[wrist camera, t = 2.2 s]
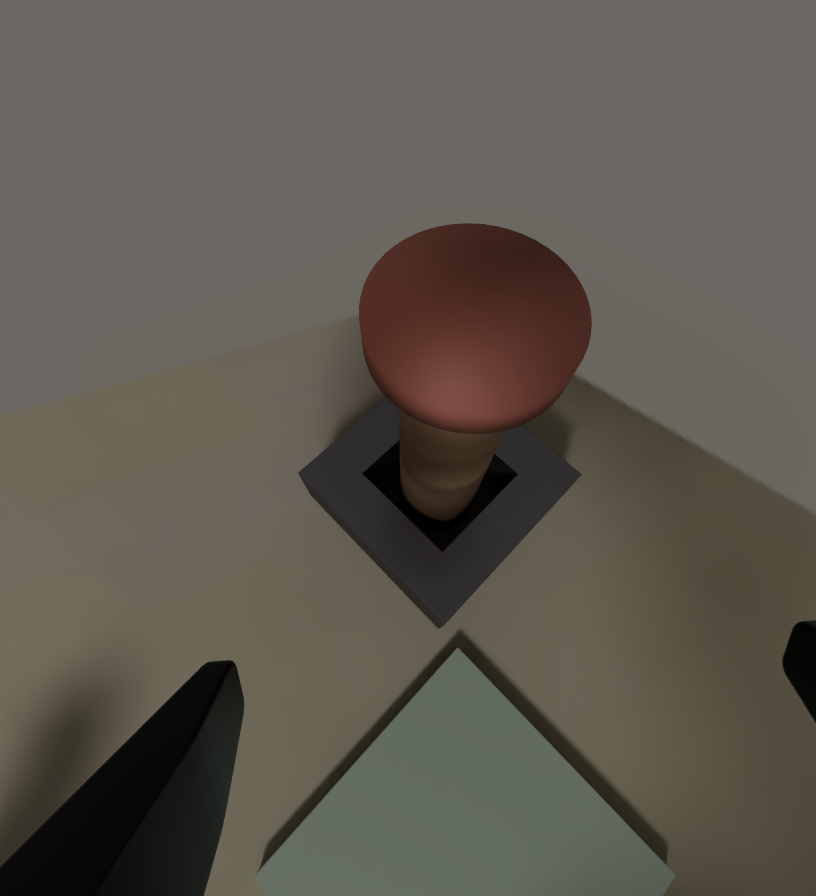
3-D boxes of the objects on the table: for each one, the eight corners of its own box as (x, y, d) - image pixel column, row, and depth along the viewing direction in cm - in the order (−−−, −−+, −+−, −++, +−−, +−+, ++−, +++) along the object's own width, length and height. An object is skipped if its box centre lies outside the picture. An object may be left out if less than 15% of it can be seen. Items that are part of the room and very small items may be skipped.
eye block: (559, 496, 22) (581, 474, 19) (438, 628, 20) (444, 624, 17) (433, 388, 24) (437, 353, 21) (311, 495, 22) (298, 473, 19)
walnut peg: (509, 496, 22) (637, 310, 10) (437, 572, 21) (484, 461, 9) (434, 428, 23) (467, 192, 11) (361, 496, 22) (311, 307, 10)
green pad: (666, 867, 17) (675, 875, 16) (474, 1177, 14) (477, 1198, 13) (456, 647, 19) (457, 647, 19) (259, 868, 17) (254, 876, 16)
